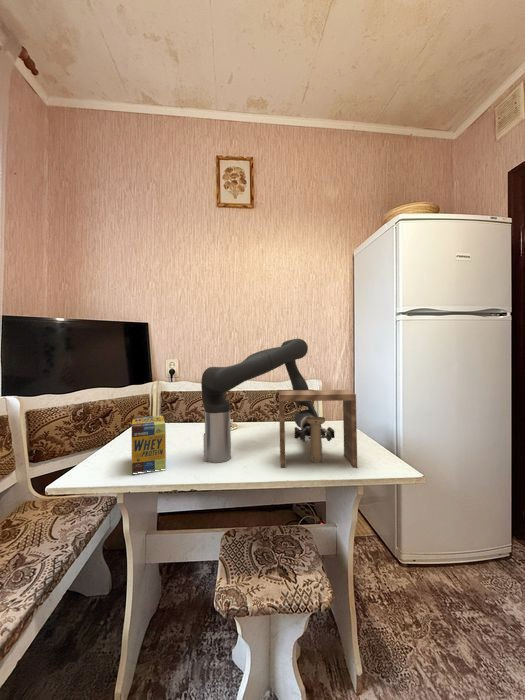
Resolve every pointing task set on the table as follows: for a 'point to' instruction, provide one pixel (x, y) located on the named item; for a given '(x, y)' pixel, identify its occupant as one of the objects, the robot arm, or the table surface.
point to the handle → (315, 437)
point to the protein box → (148, 444)
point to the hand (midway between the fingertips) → (316, 438)
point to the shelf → (324, 395)
